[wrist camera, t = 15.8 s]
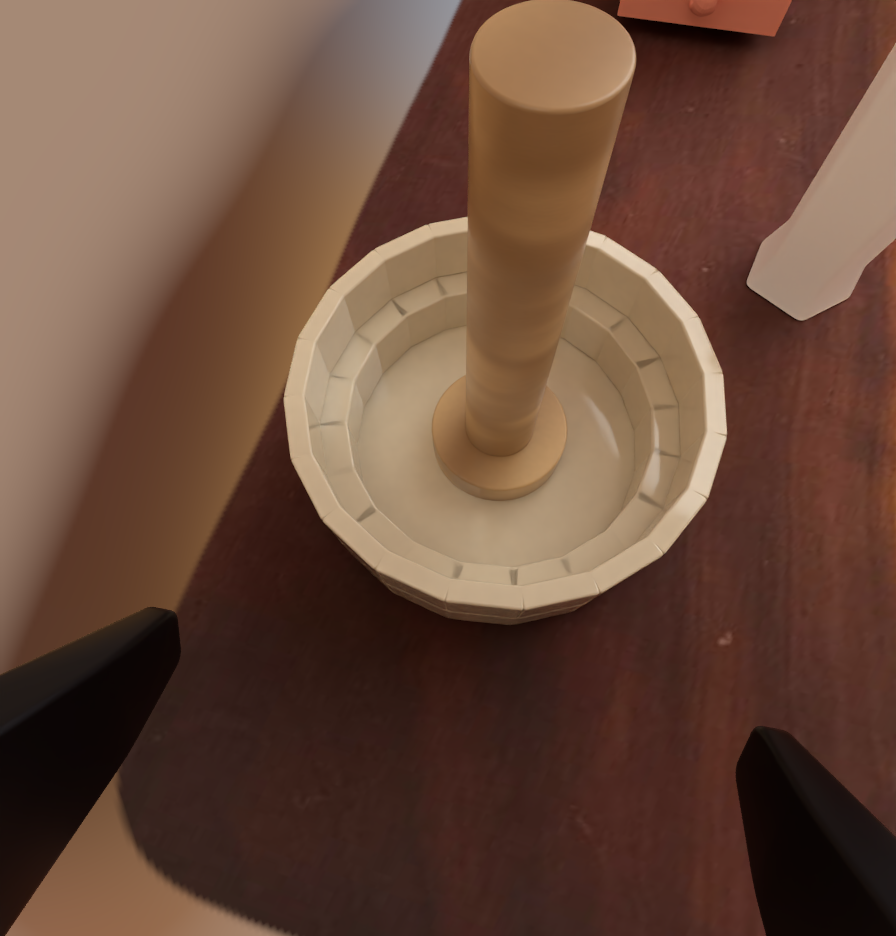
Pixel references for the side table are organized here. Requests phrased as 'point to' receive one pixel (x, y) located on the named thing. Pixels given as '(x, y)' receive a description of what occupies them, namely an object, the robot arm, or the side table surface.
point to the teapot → (712, 13)
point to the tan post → (527, 231)
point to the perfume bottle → (837, 212)
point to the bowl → (580, 467)
